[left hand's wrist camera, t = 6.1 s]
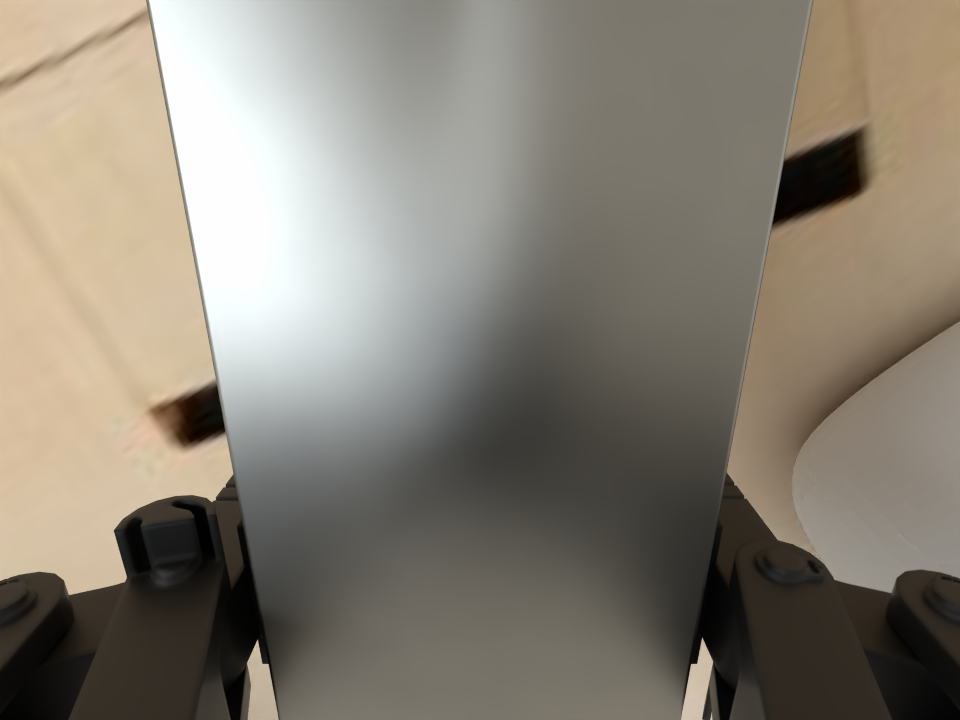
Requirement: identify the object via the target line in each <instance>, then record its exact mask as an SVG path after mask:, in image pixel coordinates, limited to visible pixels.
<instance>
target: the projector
mask: <svg viewBox="0 0 960 720" xmlns="http://www.w3.org/2000/svg"><path fill="white" fill-rule="evenodd" d="M792 498H793V504H794V508H795V512H796V514H797V517H798V519H799V521H800V523H801V526H802V528H803V530H804V532H805V534H806V536H807V538H808V540H809V541H810V543H811V545H812V546H813V548H814V550H815V552H816V553H817V555H818V556H819V558H820V559H821V561H822V562H823V564H825V566H826V567H827V569H828V570H829V572H830V573H831V574H832V576H833V577H834V579H835V580H837V581H840V582H844V583H848V584H852V585H857V586H861V587H866V588H870V589H875V590H880V591H884V592H889V593H892V590H893V587H894V584H895V581H896V578H897V577H898V576H900V575H901V574H902V573H904V572H905V571H911V570H920V569H922V570H928V571H935V572H941V573H944V574H948V575H951V576H953V577H954V576H955V577H957V578H960V321H959V322H957V323H956V324H954V325H953V326H951V327H949V328H948V329H946V330H945V331H943V332H942V333H940V334H939V335H937V336H936V337H934V338H933V339H931V340H930V341H928V342H927V343H925V344H924V345H922V346H921V347H919V348H918V349H916V350H915V351H913V352H912V353H910V354H909V355H907V356H906V357H904V358H903V359H901V360H900V361H899V362H897V363H896V364H894V365H893V366H891V367H890V368H889V369H887V370H886V371H884V372H883V373H882V374H880V375H879V376H877V377H876V378H875V379H873V380H872V381H871V382H869V383H868V384H867V385H865V386H864V387H863V388H862V389H860V390H859V391H858V392H856V393H855V394H854V395H852V396H851V397H850V398H849V399H847V400H846V401H845V402H844V403H843V404H842V405H840V406H839V407H838V408H837V409H836V410H835V411H834V412H832V413H831V414H830V415H829V416H828V417H827V418H826V419H825V420H824V421H823V422H822V423H821V424H820V425H819V426H818V427H817V428H816V429H815V430H814V431H813V432H812V434H811V435H810V436H809V437H808V439H807V440H806V442H805V443H804V445H803V446H802V448H801V450H800V452H799V454H798V455H797V458H796V461H795V465H794V468H793V474H792Z"/></svg>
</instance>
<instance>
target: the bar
mask: <svg viewBox="0 0 960 720" xmlns="http://www.w3.org/2000/svg"><path fill="white" fill-rule="evenodd" d="M146 1H147V7H148V12H149V18H150V23H151V28H152V34H153V39H154V45H155V50H156V56H157V61H158V66H159V72H160V77H161V83H162V88H163V94H164V99H165V104H166V110H167V115H168V121H169V126H170V132H171V137H172V142H173V148H174V153H175V159H176V164H177V169H178V175H179V180H180V186H181V191H182V197H183V202H184V207H185V213H186V218H187V224H188V229H189V235H190V240H191V245H192V251H193V256H194V262H195V267H196V273H197V278H198V283H199V289H200V294H201V300H202V305H203V310H204V316H205V321H206V327H207V332H208V338H209V343H210V348H211V354H212V359H213V365H214V370H215V376H216V381H217V386H218V392H219V397H220V403H221V408H222V414H223V419H224V424H225V430H226V435H227V441H228V446H229V452H230V457H231V462H232V468H233V473H234V479H235V484H236V489H237V495H238V500H239V506H240V511H241V517H242V522H243V527H244V533H245V538H246V544H247V549H248V555H249V560H250V565H251V571H252V576H253V582H254V587H255V593H256V598H257V603H258V609H259V614H260V620H261V625H262V630H263V636H264V641H265V647H266V652H267V658H268V663H269V668H270V674H271V679H272V685H273V690H274V696H275V701H276V706H277V712H278V717H279V720H681V716H682V710H683V705H684V699H685V694H686V688H687V683H688V678H689V672H690V667H691V661H692V656H693V650H694V645H695V640H696V634H697V629H698V623H699V618H700V612H701V607H702V602H703V596H704V591H705V585H706V580H707V574H708V569H709V564H710V558H711V553H712V547H713V542H714V536H715V531H716V526H717V520H718V515H719V509H720V504H721V499H722V493H723V488H724V482H725V477H726V471H727V466H728V461H729V455H730V450H731V444H732V439H733V433H734V428H735V423H736V417H737V412H738V406H739V401H740V395H741V390H742V385H743V379H744V374H745V368H746V363H747V357H748V352H749V347H750V341H751V336H752V330H753V325H754V319H755V314H756V309H757V303H758V298H759V292H760V287H761V281H762V276H763V271H764V265H765V260H766V254H767V249H768V243H769V238H770V233H771V227H772V222H773V216H774V211H775V205H776V200H777V195H778V189H779V184H780V178H781V173H782V168H783V162H784V157H785V151H786V146H787V140H788V135H789V130H790V124H791V119H792V113H793V108H794V102H795V97H796V92H797V86H798V81H799V75H800V70H801V64H802V59H803V54H804V48H805V43H806V37H807V32H808V26H809V21H810V16H811V10H812V5H813V0H146Z"/></svg>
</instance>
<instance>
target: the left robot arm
mask: <svg viewBox="0 0 960 720" xmlns="http://www.w3.org/2000/svg"><path fill="white" fill-rule="evenodd" d="M114 533H115V536H116V540H117V543H118V547H119V550H120V554H121V557H122V561H123V564H124V568H125V571H126V575H127V579H126V581H125V582H124V583H121V584H117V585H114V586H109V587H105V588H100V589H96V590H91V591H87V592H82V593H77V594H73V595H68V592H67V589H66V586H65V583H64V580H63V579H61V578H60V577H59V576H57V575H56V574H53V573H45V572H35V573H29V574H22V575H18V576H14V577H10V578H9V579H4V580H2V581H0V720H247V719H248V709H249V699H250V689H251V683H250V677H249V671H248V666H247V662H248V659H249V657H250V655H251V653H252V651H253V648H254V646H255V644H256V642H257V639H258V642H259V648H260V653H261V658H262V663H263V664H269V663H268V658H267V652H266V647H265V641H264V636H263V630H262V625H261V620H260V614H259V609H258V603H257V598H256V593H255V587H254V582H253V576H252V571H251V565H250V560H249V555H248V549H247V544H246V538H245V533H244V527H243V522H242V517H241V511H240V506H239V500H238V495H237V489H236V484H235V479H234V474H233V476H232V477H231V478H230V480H229V481H228V482H227V484H226V488H223V489H222V490H221V492H220V493H219V494H218V496H217V497H216V501H213V502H211V501H209V500H208V499H207V498H203V497H199V496H194V495H188V496H174V497H170V498H166V499H162V500H158V501H155V502H152V503H150V504H148V505H146V506H143V507H141V508H139V509H137V510H136V511H134V512H133V513H131V514H130V515H128V516H127V517H125V518H124V519H123V520H122V521H121V522H120V523H119V525H118V526H117V527H116V528H115V530H114ZM702 638H703V640H704V642H705V644H706V646H707V649H708V651H709V653H710V655H711V657H712V660H713V666H712V671H711V676H710V681H709V686H708V691H707V695H706V700H705V705H704V711H703V718H702V719H703V720H710V717H711V712H712V717H713V720H960V578H957V577H955V576H954V577H953V576H951V575H948V574H944V573H941V572H935V571H928V570H922V569H920V570H911V571H905V572H904V573H902V574H901V575H900V576H898V577H897V578H896V581H895V584H894V587H893V590H892V593H889V592H884V591H880V590H875V589H870V588H866V587H861V586H857V585H852V584H848V583H844V582H840V581H837V580H834V578H833V576H832V574H831V573H830V572H829V570H828V569H827V567H826V566H825V564H823V563H822V562H821V561H820V560H818V559H817V558H816V557H815V556H813V555H812V554H811V553H809V552H807V551H805V550H803V549H801V548H799V547H797V546H795V545H793V544H789V543H786V542H782V541H778V540H777V539H776V537H775V536H774V535H773V533H772V532H771V531H770V529H769V528H768V527H767V525H766V524H765V523H764V522H763V520H762V519H761V518H760V516H759V515H758V514H757V512H756V511H755V510H754V508H753V507H752V506H751V504H750V503H749V502H748V500H747V499H744V495H743V494H742V492H741V491H740V490H739V488H738V487H737V486H734V482H733V480H732V479H731V478H730V477H729V475H728V474H727V473H726V477H725V482H724V488H723V493H722V499H721V504H720V509H719V515H718V520H717V526H716V531H715V536H714V542H713V547H712V553H711V558H710V564H709V569H708V574H707V580H706V585H705V591H704V596H703V602H702V607H701V612H700V618H699V623H698V629H697V634H696V640H695V645H694V650H693V656H692V661H691V664H697V661H698V656H699V651H700V646H701V640H702Z"/></svg>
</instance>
